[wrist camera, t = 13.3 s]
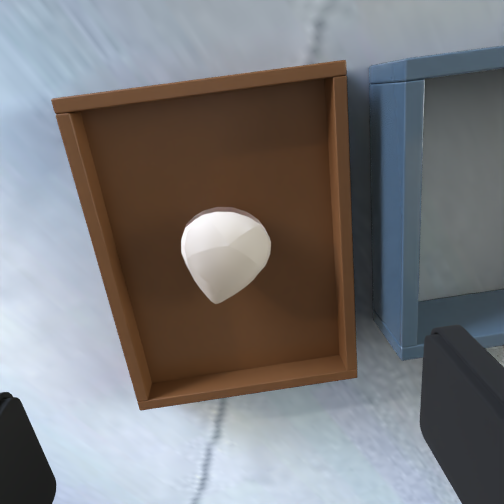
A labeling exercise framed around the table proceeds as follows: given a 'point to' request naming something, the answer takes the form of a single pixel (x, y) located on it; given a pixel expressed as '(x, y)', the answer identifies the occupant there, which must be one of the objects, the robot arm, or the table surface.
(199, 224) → the white teardrop piece
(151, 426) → the table surface
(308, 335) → the tray
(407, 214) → the basin
